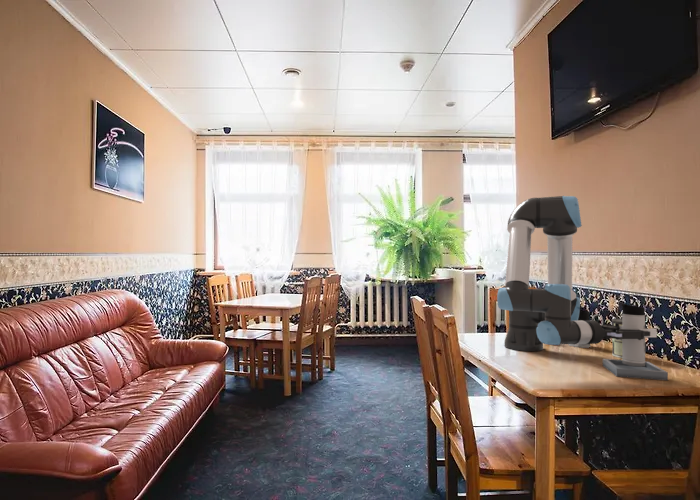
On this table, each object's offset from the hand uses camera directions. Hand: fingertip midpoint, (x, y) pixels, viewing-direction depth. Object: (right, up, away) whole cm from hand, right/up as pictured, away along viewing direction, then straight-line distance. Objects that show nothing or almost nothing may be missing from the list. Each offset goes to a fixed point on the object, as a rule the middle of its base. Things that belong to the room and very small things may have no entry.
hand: (646, 331), depth 139 cm
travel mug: (-5, -11, -1) cm, 12 cm away
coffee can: (+9, -15, +22) cm, 28 cm away
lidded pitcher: (+4, -15, +42) cm, 45 cm away
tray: (-5, -14, -1) cm, 15 cm away
